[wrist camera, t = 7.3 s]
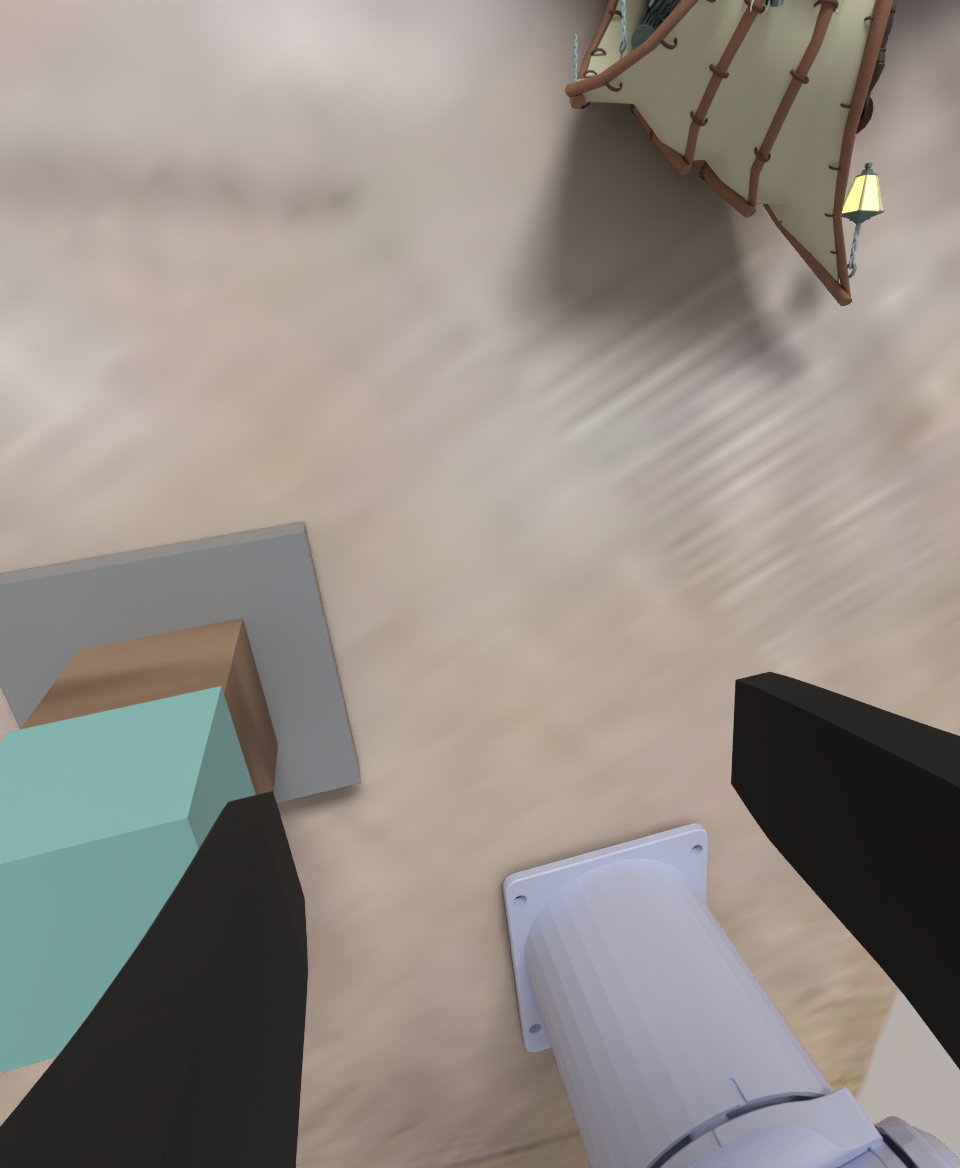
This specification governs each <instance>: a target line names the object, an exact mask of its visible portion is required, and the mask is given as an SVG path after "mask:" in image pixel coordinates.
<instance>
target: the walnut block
mask: <svg viewBox="0 0 960 1168" xmlns="http://www.w3.org/2000/svg"><path fill="white" fill-rule="evenodd" d="M219 686H221V687H222V690H223V693H224V696H225V699H226V702H227V705H228V709H229V712H230V715H231V718H232V721H233V724H234V728H235V731H236V734H237V737H238V740H239V743H240V746H241V750H242V753H243V756H244V759H245V762H246V765H247V769H248V772H249V775H250V778H251V781H252V784H253V787H254V791H255V794H256V795H258V794H262V793H266V792H271V791H273V793H274V784H275V772H276V761H277V749H278V742H277V739H276V735H275V731H274V728H273V724H272V721H271V717H270V714H269V710H268V706H267V703H266V699H265V696H264V692H263V689H262V685H261V681H260V678H259V674H258V671H257V667H256V664H255V660H254V656H253V653H252V649H251V646H250V642H249V639H248V635H247V631H246V628H245V624H244V621H243V618H240V619H235V620H229V621H224V622H219V623H214V624H209V625H204V626H198V627H193V628H188V629H183V630H178V631H173V632H167V633H162V634H157V635H152V636H147V637H142V638H136V639H131V640H126V641H121V642H116V643H111V644H105V645H100V646H95V647H90V648H85V649H80V650H78V651H77V653H76V654H75V655H74V657H73V658H72V660H71V661H70V662H69V664H68V665H67V666H66V668H65V669H64V670H63V672H62V673H61V674H60V676H59V677H58V679H57V680H56V681H55V683H54V684H53V685H52V687H51V688H50V689H49V691H48V692H47V693H46V695H45V696H44V698H43V699H42V700H41V702H40V703H39V704H38V706H37V707H36V708H35V710H34V711H33V712H32V714H31V715H30V717H29V718H28V719H27V721H26V722H25V723H24V725H23V726H22V727H21V729H25V728H30V727H35V726H39V725H44V724H48V723H53V722H58V721H62V720H67V719H72V718H76V717H81V716H85V715H90V714H95V713H99V712H104V711H108V710H113V709H118V708H122V707H127V706H132V705H136V704H141V703H145V702H150V701H155V700H159V699H164V698H168V697H173V696H178V695H182V694H187V693H192V692H196V691H201V690H205V689H210V688H215V687H219ZM21 729H20V730H21Z"/></svg>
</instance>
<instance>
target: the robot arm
mask: <svg viewBox="0 0 960 1168" xmlns="http://www.w3.org/2000/svg"><path fill="white" fill-rule="evenodd" d="M731 784H732V786H733V787H734V789H735V790H736V792H737V793H738V795H739V796H740V798H741V799H742V801H743V803H744V804H745V806H746V807H747V809H748V810H749V812H750V813H751V815H752V816H753V818H754V819H755V820H756V822H757V823H758V825H759V826H760V828H761V829H762V830H763V832H764V833H765V835H766V836H767V837H768V839H769V840H770V841H771V842H772V844H773V845H774V846H775V847H776V848H777V849H778V851H779V852H780V853H781V854H782V855H783V856H784V858H785V859H786V860H787V861H788V862H789V863H790V864H791V866H792V867H793V868H794V869H795V870H796V871H797V873H798V874H799V875H800V876H801V877H802V878H803V879H804V881H805V882H806V883H807V884H808V885H809V886H810V887H811V888H812V890H813V891H814V892H815V893H816V894H817V895H818V896H819V898H820V899H821V900H822V901H823V902H824V903H825V904H826V905H827V907H828V908H829V909H830V910H831V911H832V912H833V913H834V914H835V916H836V917H837V918H838V919H839V920H840V921H841V922H842V923H843V925H844V926H845V927H846V928H847V929H848V930H849V931H850V932H851V934H852V935H853V936H854V937H855V938H856V939H857V940H858V941H859V943H860V944H861V945H862V946H863V947H864V948H865V949H866V951H867V952H868V953H869V954H870V955H871V956H872V957H873V958H874V960H875V961H876V962H877V963H878V964H879V965H880V966H881V968H882V969H883V970H884V971H885V972H886V974H887V975H888V976H889V977H890V978H891V980H892V981H893V982H894V983H895V985H896V986H897V987H898V988H899V989H900V991H901V992H902V993H903V994H904V995H905V997H906V998H907V999H908V1001H909V1002H910V1003H911V1005H912V1006H913V1007H914V1009H915V1010H916V1011H917V1013H918V1014H919V1015H920V1017H921V1018H922V1019H923V1021H924V1022H925V1023H926V1025H927V1026H928V1027H929V1029H930V1030H931V1031H932V1033H933V1034H934V1036H935V1037H936V1038H937V1039H938V1041H939V1042H940V1043H941V1045H942V1046H943V1048H944V1049H945V1050H946V1052H947V1053H948V1054H949V1056H950V1057H951V1058H952V1060H953V1061H954V1062H955V1064H956V1065H957V1067H958V1068H959V1069H960V736H958V735H955V734H952V733H949V732H946V731H943V730H940V729H937V728H934V727H931V726H928V725H925V724H922V723H919V722H916V721H913V720H911V719H908V718H905V717H902V716H899V715H896V714H894V713H891V712H888V711H885V710H882V709H880V708H877V707H874V706H871V705H868V704H866V703H863V702H860V701H857V700H854V699H852V698H849V697H846V696H843V695H840V694H838V693H835V692H832V691H829V690H826V689H824V688H821V687H818V686H815V685H812V684H809V683H806V682H803V681H800V680H797V679H794V678H790V677H787V676H784V675H780V674H776V673H773V672H767V673H763V674H759V675H754V676H750V677H746V678H742V679H738V680H736V683H735V706H734V729H733V752H732V775H731ZM707 855H708V834H707V832H706V830H705V829H704V828H703V827H702V826H701V824H697V823H694V824H689V825H685V826H682V827H678V828H675V829H671V830H667V831H664V832H660V833H657V834H653V835H650V836H646V837H642V838H639V839H635V840H632V841H628V842H624V843H621V844H617V845H614V846H610V847H606V848H603V849H599V850H596V851H592V852H588V853H585V854H581V855H578V856H574V857H571V858H567V859H563V860H560V861H556V862H553V863H549V864H545V865H542V866H538V867H535V868H531V869H527V870H524V871H520V872H517V873H514V874H511V875H509V876H508V877H507V878H506V879H505V881H504V882H503V893H504V901H505V908H506V916H507V923H508V931H509V938H510V946H511V953H512V961H513V968H514V976H515V983H516V991H517V998H518V1006H519V1013H520V1021H521V1028H522V1036H523V1041H524V1045H525V1048H526V1050H527V1051H529V1052H532V1053H536V1052H540V1051H543V1050H546V1049H549V1048H552V1051H553V1054H554V1057H555V1060H556V1063H557V1066H558V1069H559V1072H560V1076H561V1079H562V1082H563V1085H564V1088H565V1091H566V1094H567V1097H568V1100H569V1103H570V1106H571V1109H572V1112H573V1115H574V1118H575V1121H576V1124H577V1127H578V1130H579V1133H580V1136H581V1139H582V1142H583V1145H584V1148H585V1151H586V1154H587V1157H588V1160H589V1163H590V1166H591V1168H960V1159H959V1157H958V1156H957V1155H956V1154H955V1153H953V1151H951V1150H950V1149H949V1148H948V1147H947V1146H946V1145H945V1144H944V1143H943V1142H942V1141H940V1140H939V1139H938V1138H936V1137H935V1136H933V1135H932V1134H930V1133H928V1132H925V1131H923V1130H920V1129H918V1128H916V1127H913V1126H911V1125H909V1124H908V1123H907V1122H905V1121H904V1120H902V1119H900V1118H898V1117H895V1116H890V1117H887V1118H885V1119H884V1120H882V1121H880V1122H878V1123H877V1124H875V1125H873V1123H872V1122H871V1121H870V1119H869V1118H868V1116H867V1115H866V1114H865V1112H864V1111H863V1109H862V1108H861V1106H860V1105H859V1104H858V1102H857V1101H856V1099H855V1098H854V1096H853V1095H852V1094H851V1092H850V1091H849V1089H848V1088H846V1087H842V1088H840V1089H838V1090H836V1091H834V1090H833V1089H832V1087H831V1086H830V1084H829V1083H828V1081H827V1080H826V1078H825V1077H824V1075H823V1074H822V1073H821V1071H820V1070H819V1068H818V1067H817V1065H816V1064H815V1062H814V1061H813V1059H812V1058H811V1057H810V1055H809V1054H808V1052H807V1051H806V1049H805V1048H804V1046H803V1045H802V1043H801V1042H800V1040H799V1039H798V1038H797V1036H796V1035H795V1033H794V1032H793V1030H792V1029H791V1027H790V1026H789V1024H788V1023H787V1022H786V1020H785V1019H784V1017H783V1016H782V1014H781V1013H780V1011H779V1010H778V1008H777V1007H776V1005H775V1004H774V1003H773V1001H772V1000H771V998H770V997H769V995H768V994H767V992H766V991H765V989H764V988H763V987H762V985H761V984H760V982H759V981H758V979H757V978H756V976H755V975H754V973H753V972H752V970H751V969H750V968H749V966H748V965H747V963H746V962H745V960H744V959H743V957H742V956H741V954H740V953H739V952H738V950H737V949H736V947H735V946H734V944H733V943H732V941H731V940H730V938H729V937H728V935H727V934H726V933H725V931H724V930H723V928H722V927H721V925H720V924H719V922H718V921H717V919H716V918H715V917H714V915H713V914H712V912H711V911H710V909H709V908H708V906H707V905H706V891H707ZM518 896H520V897H518ZM516 897H518V898H516ZM307 980H308V960H307V935H306V916H305V898H304V895H303V892H302V888H301V885H300V881H299V878H298V875H297V871H296V868H295V864H294V861H293V858H292V854H291V851H290V847H289V844H288V840H287V837H286V834H285V830H284V827H283V823H282V820H281V817H280V813H279V810H278V806H277V803H276V799H275V796H274V793H273V791H271V792H266V793H262V794H258V795H254V796H250V797H246V798H241V799H237V800H233V801H229V802H228V803H227V804H226V805H225V807H224V808H223V810H222V811H221V813H220V814H219V816H218V818H217V819H216V821H215V823H214V824H213V826H212V828H211V829H210V831H209V833H208V834H207V836H206V838H205V840H204V841H203V843H202V845H201V846H200V848H199V850H198V851H197V853H196V855H195V856H194V858H193V860H192V861H191V863H190V865H189V866H188V868H187V869H186V871H185V873H184V874H183V876H182V878H181V879H180V881H179V883H178V884H177V886H176V887H175V889H174V890H173V892H172V894H171V895H170V897H169V898H168V900H167V901H166V903H165V904H164V906H163V908H162V909H161V911H160V912H159V914H158V915H157V917H156V918H155V920H154V922H153V923H152V925H151V926H150V928H149V929H148V931H147V932H146V934H145V935H144V937H143V938H142V940H141V941H140V943H139V944H138V946H137V947H136V949H135V950H134V952H133V953H132V955H131V956H130V957H129V959H128V960H127V962H126V963H125V965H124V966H123V967H122V969H121V970H120V972H119V973H118V974H117V976H116V977H115V979H114V980H113V981H112V983H111V984H110V986H109V987H108V989H107V990H106V991H105V993H104V994H103V996H102V997H101V998H100V1000H99V1001H98V1003H97V1004H96V1006H95V1007H94V1008H93V1010H92V1011H91V1013H90V1014H89V1015H88V1017H87V1018H86V1019H85V1021H84V1022H83V1023H82V1025H81V1026H80V1027H79V1029H78V1030H77V1031H76V1033H75V1034H74V1035H73V1037H72V1038H71V1039H70V1040H69V1042H68V1043H67V1044H66V1046H65V1047H64V1048H63V1050H62V1051H61V1052H60V1054H59V1055H58V1056H57V1057H56V1059H55V1060H54V1061H53V1063H52V1064H51V1065H50V1066H49V1068H48V1069H47V1070H46V1071H45V1073H44V1074H43V1075H42V1076H41V1078H40V1079H39V1080H38V1081H37V1083H36V1084H35V1085H34V1086H33V1087H32V1089H31V1090H30V1091H29V1092H28V1094H27V1095H26V1096H25V1097H24V1099H23V1100H22V1101H21V1102H20V1104H19V1105H18V1106H17V1107H16V1109H15V1110H14V1111H13V1112H12V1113H11V1115H10V1116H9V1117H8V1118H7V1119H6V1120H5V1122H4V1123H3V1124H2V1125H1V1126H0V1168H296V1152H297V1137H298V1122H299V1107H300V1091H301V1076H302V1061H303V1046H304V1030H305V1014H306V998H307Z"/></svg>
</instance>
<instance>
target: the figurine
mask: <svg viewBox="0 0 960 1168" xmlns="http://www.w3.org/2000/svg"><path fill="white" fill-rule="evenodd" d="M896 7H897V5H896V3H893V0H608V4H607V7H606V10H605V13H604V16H603V19H602V21H601V23H600V25H599V27H598V29H597V32H596V34H595V36H594V38H593V40H592V42H591V45H590V47H589V49H588V51H587V53H586V55H585V57H584V60H583V62H582V65H581V68H580V71H579V74H578V76H577V53H578V52H577V45H578V41H577V34H575V40H574V46H575V50H574V56H575V59H574V66H575V67H574V83H572V84H569V85H567V86H566V88H565V92H566V94H567V96H569V97H571V98H570V104H571V107H572V108H573V109H584V108H586V107H587V106H589V105H590V103H591V102H605V103H627V104H631V106H630V107H631V111H632V112H633V113H634V114H635V115H636V116H637V118H638V119H639V121H640V122H641V124H642V125H643V127H644V128H645V130H646V131H647V133H648V134H649V136H650V138H651V139H652V140H653V141H654V143H655V144H656V146H657V147H658V148H659V149H660V151H661V152H662V153H663V154H664V156H665V157H666V158H667V159H668V160H669V162H670V163H671V164H672V165H673V167H674V168H675V169H676V170H677V171H678V173H679V174H680V175H681V176H684V175H686V174H688V173H689V171H690V170H691V169H692V165H693V162H694V163H695V165H696V166H697V168H698V169H699V171H700V172H699V174H700V178H701V179H702V180H706V182H707V183H708V185H709V186H710V187H711V188H712V189H713V190H714V191H715V192H716V193H717V194H719V195H720V196H721V197H722V198H723V199H724V200H726V201H727V202H728V203H729V204H730V205H731V206H733V207H734V208H735V209H736V210H737V211H738V212H740V213H741V214H742V215H743V216H744V217H745V218H746V217H750V216H752V215H753V214H754V213H755V211H756V209H755V205H756V204H763V206H764V207H765V209H766V210H767V212H768V213H769V215H770V217H771V218H772V220H773V221H774V223H775V224H776V226H777V227H778V228H779V230H780V231H781V232H782V233H783V235H784V236H785V237H786V238H787V240H788V241H789V242H790V243H791V245H792V246H793V247H794V248H795V250H796V251H797V252H798V253H799V255H800V256H801V257H802V258H803V260H804V261H805V262H806V263H807V265H808V266H809V267H810V268H811V270H812V271H813V272H814V273H815V275H816V276H817V277H818V278H819V280H820V281H821V282H822V283H823V284H824V286H825V287H826V288H827V289H828V291H829V292H830V293H831V294H832V296H833V297H834V298H835V299H836V301H837V302H838V303H839V304H840V305H841V306H845V305H848V304H850V303H851V302H852V299H851V294H850V286H849V278H851V277H852V276H853V275H854V273H855V271H856V267H857V266H856V264H854V260H855V255H856V250H857V244H858V238H859V233H860V227H861V223H862V222H864V221H865V220H868V219H870V217H873V216H875V215H878V214H880V213H883V212H884V211H883V206H882V200H881V193H880V186H879V179H878V174H875V173H873V171H872V169H870V167H872V163H867V164H865V168H866V169H865V170H863V171H862V173H861V174H860V175H858V176H856V178H855V180H854V182H853V184H852V186H851V188H850V190H849V192H848V194H847V196H846V198H845V193H846V187H847V181H848V175H849V169H850V163H851V157H852V151H853V145H854V139H855V135H856V134H857V133H859V132H860V131H861V130H862V129H863V128H865V127H866V125H867V124H868V122H869V121H870V119H871V116H872V113H873V101H872V100H871V98H870V94H871V91H872V89H873V87H874V86H875V84H876V82H877V81H878V79H879V77H880V74H881V72H882V70H883V68H884V66H885V64H884V62H885V51H886V48H885V46H886V43H887V40H888V35H889V33H890V30H891V27H892V21H893V15H894V13H895V11H896ZM575 52H576V53H575ZM575 62H576V64H575ZM575 72H576V74H575ZM585 102H588V103H587V104H586V105H584V103H585ZM583 105H584V106H583ZM683 157H684V158H683ZM702 175H703V177H704V178H703V177H702ZM742 197H743V198H744V199H745V200H744V199H743V198H742ZM844 198H845V200H844ZM746 200H747V201H746ZM841 217H844V218H848V219H850V221H853V222H854V223H856V227H855V233H854V239H853V245H852V249H851V256H850V261H849V264H848V265H847V261H846V252H845V244H844V235H843V227H842V219H841ZM857 228H858V229H857ZM856 234H857V236H856ZM855 241H856V243H855ZM852 256H853V257H852ZM848 267H849V269H852V268H853V270H852V273H851V274H850V275H849V276H848ZM839 278H840V284H841V285H840V284H839Z"/></svg>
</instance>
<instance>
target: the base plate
mask: <svg viewBox="0 0 960 1168" xmlns="http://www.w3.org/2000/svg"><path fill="white" fill-rule="evenodd" d="M240 618H243V621H244V624H245V628H246V631H247V635H248V639H249V642H250V646H251V649H252V653H253V656H254V660H255V664H256V667H257V671H258V674H259V678H260V681H261V685H262V689H263V692H264V696H265V699H266V703H267V706H268V710H269V714H270V717H271V721H272V724H273V728H274V731H275V735H276V739H277V742H278V749H277V761H276V772H275V784H274V796H275V799H276V803H280V802H284V801H289V800H293V799H297V798H301V797H305V796H309V795H313V794H317V793H321V792H326V791H330V790H334V789H338V788H342V787H346V786H350V785H354V784H358V783H361V781H360V771H359V762H358V758H357V754H356V749H355V745H354V740H353V736H352V731H351V727H350V723H349V718H348V714H347V709H346V705H345V700H344V696H343V691H342V687H341V683H340V678H339V674H338V669H337V665H336V660H335V656H334V652H333V647H332V643H331V638H330V634H329V629H328V625H327V621H326V616H325V612H324V607H323V603H322V598H321V594H320V589H319V585H318V581H317V576H316V572H315V567H314V563H313V558H312V554H311V550H310V545H309V541H308V536H307V532H306V527H305V523H304V522H299V523H293V524H288V525H282V526H276V527H270V528H264V529H259V530H253V531H247V532H241V533H235V534H229V535H224V536H218V537H212V538H206V539H200V540H194V541H189V542H183V543H177V544H171V545H165V546H159V547H154V548H148V549H142V550H136V551H130V552H124V553H119V554H113V555H107V556H101V557H95V558H89V559H84V560H78V561H72V562H66V563H60V564H55V565H49V566H43V567H37V568H31V569H25V570H20V571H14V572H8V573H2V574H0V686H1V688H2V690H3V693H4V695H5V697H6V699H7V701H8V704H9V706H10V708H11V710H12V712H13V714H14V717H15V719H16V721H17V723H18V725H19V728H20V729H21V727H22V726H23V725H24V723H25V722H26V721H27V719H28V718H29V717H30V715H31V714H32V712H33V711H34V710H35V708H36V707H37V706H38V704H39V703H40V702H41V700H42V699H43V698H44V696H45V695H46V693H47V692H48V691H49V689H50V688H51V687H52V685H53V684H54V683H55V681H56V680H57V679H58V677H59V676H60V674H61V673H62V672H63V670H64V669H65V668H66V666H67V665H68V664H69V662H70V661H71V660H72V658H73V657H74V655H75V654H76V653H77V651H78V650H80V649H85V648H90V647H95V646H100V645H105V644H111V643H116V642H121V641H126V640H131V639H136V638H142V637H147V636H152V635H157V634H162V633H167V632H173V631H178V630H183V629H188V628H193V627H198V626H204V625H209V624H214V623H219V622H224V621H229V620H235V619H240Z"/></svg>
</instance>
